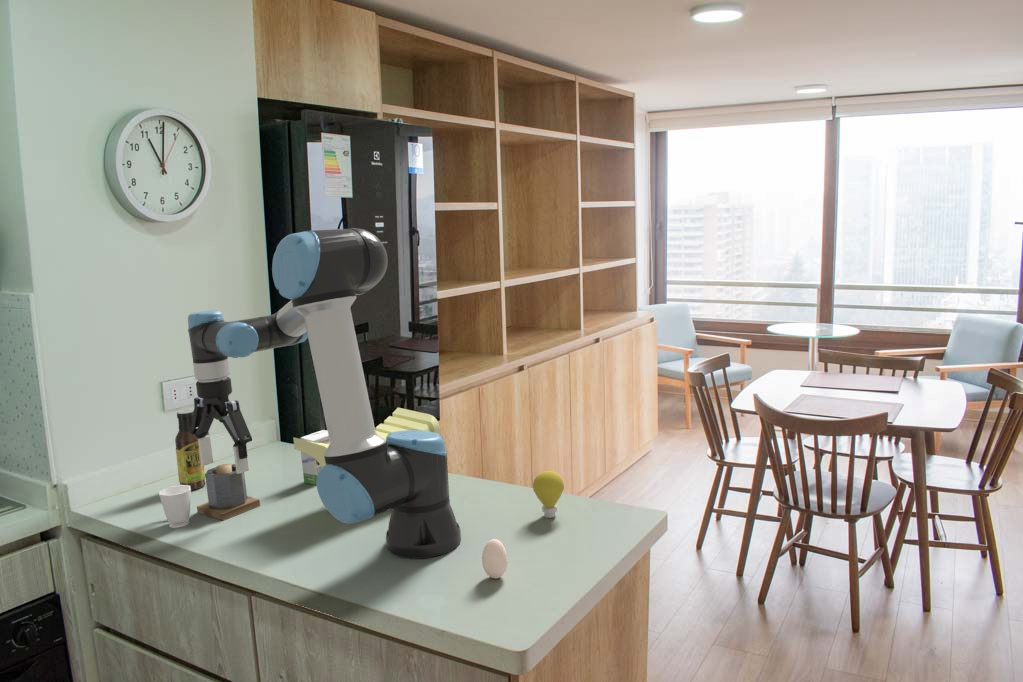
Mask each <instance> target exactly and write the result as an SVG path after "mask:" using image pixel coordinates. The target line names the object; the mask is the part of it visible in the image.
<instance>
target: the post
mask: <svg viewBox="0 0 1023 682" xmlns="http://www.w3.org/2000/svg"><path fill="white" fill-rule="evenodd" d="M216 471H217V475H218V474H227V473H230V472H232V464H231V463H222V464H219V465H217V466H216ZM260 506H261V502H260V499H258V498H255V497H252V496H248V495H247V500H246V502H245V504H243V505H240V506H237V507H235V508H231V509H222V510H216V509H213V508H210V507H209V502H208V501H207V502H205V503H203V504H202V503H201V504H199V505H197V506H196V511H197V513H198V514H201V515H204V516H207V517H211V518H214V519H218V520H221V521H226V520H228V519H230V518H232V517H235V516H238V515H240V514H243V513H245V512H247V511H250V510H253V509H255V508H257V507H260Z"/></svg>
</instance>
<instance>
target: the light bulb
mask: <svg viewBox="0 0 1023 682" xmlns="http://www.w3.org/2000/svg"><path fill="white" fill-rule="evenodd" d="M532 489H533V492H534V494H535V495H536V498H537V499H538V500H539V502H540V503H541V504H542V506H541V509H542V511H541V512H542V513H543V514H544V515H543V516H544V517H545V518H548V519H549V518H550V519H551V518H554V517H556V512H558V505H557V503H558V501H559V500H560V498H561V496H562V494H563V492H564V489H565V483H564V480H563V478H562V476H561V475H560V474H559V473H557V472H555V471H554V470H544V471H541V472H540V473H538V474H537V475H536V476H535V478H534V479H533V483H532Z"/></svg>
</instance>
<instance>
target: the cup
mask: <svg viewBox="0 0 1023 682" xmlns="http://www.w3.org/2000/svg"><path fill="white" fill-rule="evenodd" d="M191 492H192V490H191V488H190V486H189V485H180V484H178V485H172V486H171V485H170V486H168V487H165V488H163V489H161V490H159V491H158V493H159V499H160V503H161V506H162V508H163V512H164V515H165V518H166V519H167V521H168V523H169V528H174V529H178V528H182V527H185V526H188V525H189V524H190V520H189V519H190V515H191V497H192V495H191Z"/></svg>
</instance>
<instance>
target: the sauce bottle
mask: <svg viewBox="0 0 1023 682" xmlns="http://www.w3.org/2000/svg"><path fill="white" fill-rule="evenodd" d="M193 413H194V409H182V410H179V411H177V412H176V418H177V420H178V421H177V422H178V431H177V434H176V436H175V438H174V441H175V453H176V454H175V456H176V463H177V464H176V465H177V474H178V475H177V476H178V482H179V485H189V486H190V488H191V491H192V490H193V491H194V490H198V489H200V488H203V487H204V486H206V478H205V474H206V471H205V466H201V458H200V451H199V446H198V439H197V438H196V437H195V435H194V434H193V435H192V434H191V432H190V430H191V425H192V419H193Z"/></svg>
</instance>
